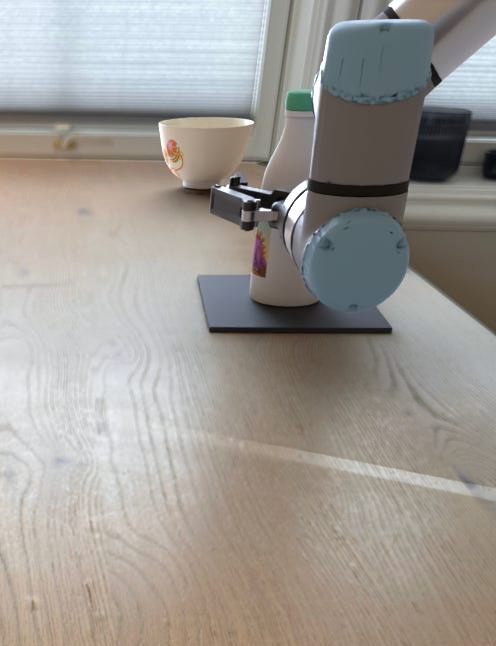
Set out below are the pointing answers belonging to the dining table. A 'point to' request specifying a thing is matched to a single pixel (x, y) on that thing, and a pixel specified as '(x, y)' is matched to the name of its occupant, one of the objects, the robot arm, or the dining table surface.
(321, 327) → the placemat
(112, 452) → the dining table surface
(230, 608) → the dining table surface
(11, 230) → the dining table surface
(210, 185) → the bowl
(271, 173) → the milk bottle
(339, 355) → the dining table surface
